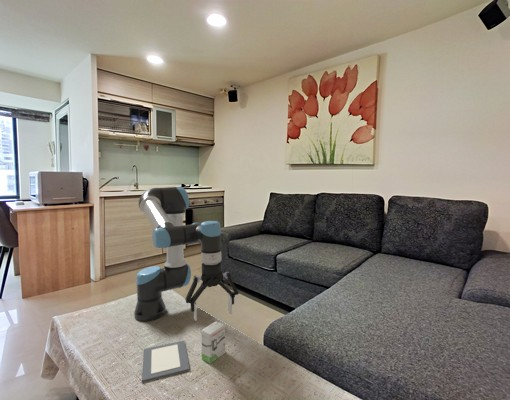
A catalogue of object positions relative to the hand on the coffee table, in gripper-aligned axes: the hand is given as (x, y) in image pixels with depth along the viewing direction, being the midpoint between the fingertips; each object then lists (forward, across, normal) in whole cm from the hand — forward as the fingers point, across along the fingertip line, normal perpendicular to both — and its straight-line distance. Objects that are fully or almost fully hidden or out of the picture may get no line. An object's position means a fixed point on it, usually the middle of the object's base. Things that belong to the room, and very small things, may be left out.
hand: (213, 315), depth 105 cm
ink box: (+17, 0, 0) cm, 17 cm away
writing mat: (+16, -18, +4) cm, 25 cm away
